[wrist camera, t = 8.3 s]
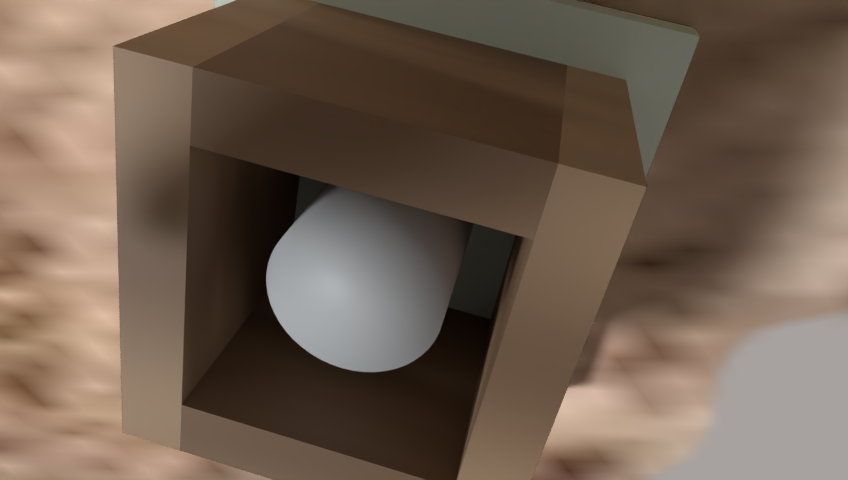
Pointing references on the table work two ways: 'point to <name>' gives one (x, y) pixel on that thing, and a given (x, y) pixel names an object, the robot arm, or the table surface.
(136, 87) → the walnut sleeve
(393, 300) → the post block
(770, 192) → the table surface
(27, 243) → the table surface
